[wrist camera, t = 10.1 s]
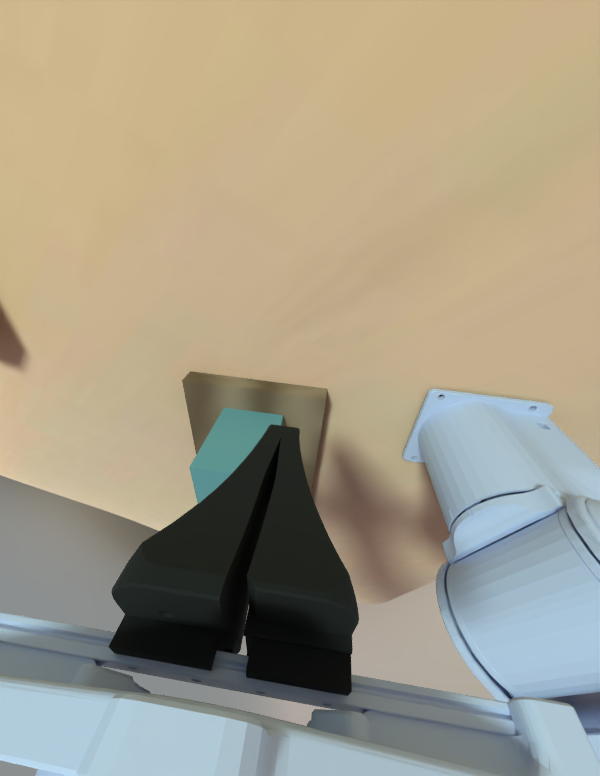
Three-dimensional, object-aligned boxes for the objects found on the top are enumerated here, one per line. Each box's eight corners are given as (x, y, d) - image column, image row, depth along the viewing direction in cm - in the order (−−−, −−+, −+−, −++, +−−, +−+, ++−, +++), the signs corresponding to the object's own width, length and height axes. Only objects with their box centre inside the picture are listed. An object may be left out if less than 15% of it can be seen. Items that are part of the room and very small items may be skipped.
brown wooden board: (326, 389, 23) (326, 399, 22) (304, 533, 36) (302, 545, 35) (190, 371, 24) (182, 380, 23) (215, 519, 36) (211, 530, 35)
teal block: (283, 415, 23) (266, 478, 18) (281, 457, 26) (266, 522, 21) (224, 407, 24) (189, 467, 18) (228, 449, 26) (199, 512, 21)
